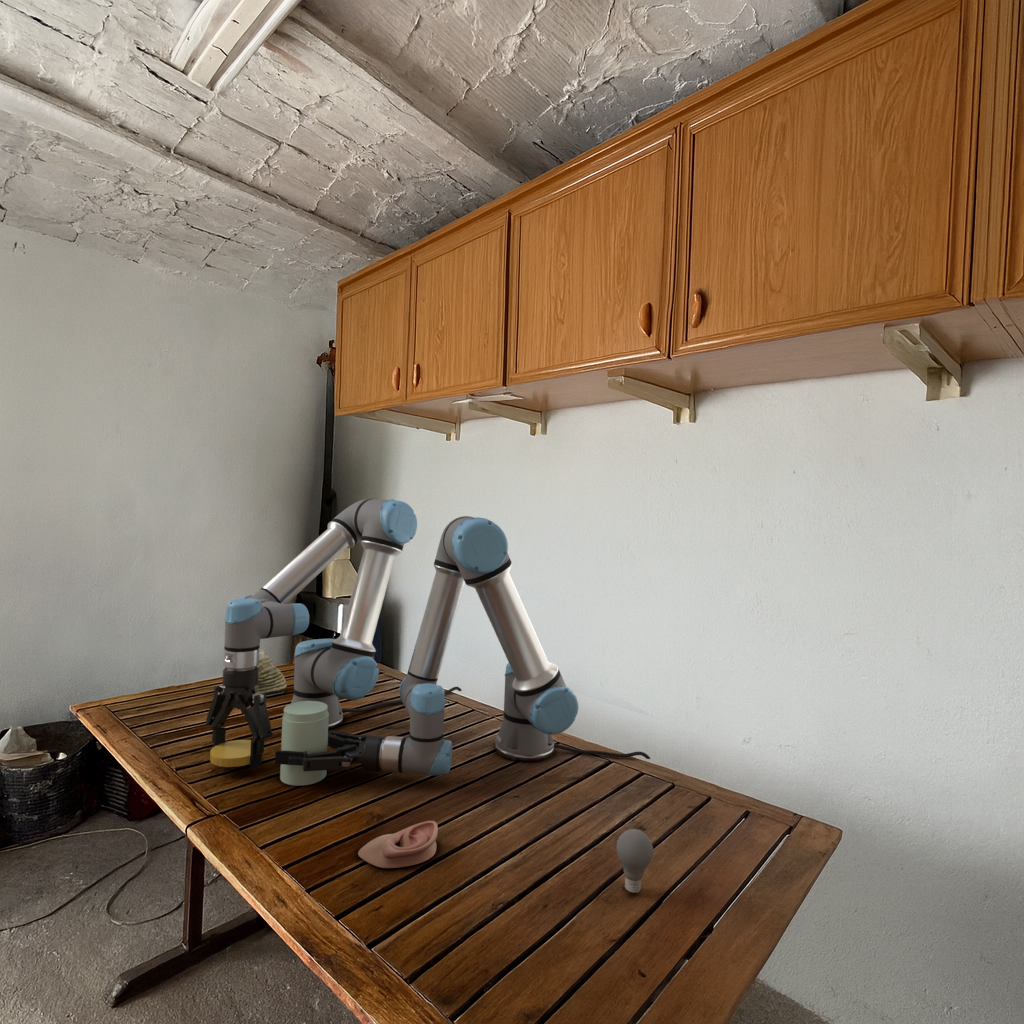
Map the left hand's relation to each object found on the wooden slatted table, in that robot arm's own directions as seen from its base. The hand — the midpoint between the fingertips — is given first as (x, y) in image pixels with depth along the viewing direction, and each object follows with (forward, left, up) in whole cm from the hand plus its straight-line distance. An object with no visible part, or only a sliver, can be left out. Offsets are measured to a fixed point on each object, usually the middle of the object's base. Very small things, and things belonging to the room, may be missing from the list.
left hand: (236, 762), depth 146 cm
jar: (-8, +14, -1) cm, 16 cm away
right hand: (-6, +11, +5) cm, 13 cm away
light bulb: (-21, +90, -1) cm, 93 cm away
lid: (0, 0, +3) cm, 3 cm away
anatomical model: (-2, +53, -1) cm, 53 cm away
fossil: (-30, -46, -1) cm, 55 cm away
